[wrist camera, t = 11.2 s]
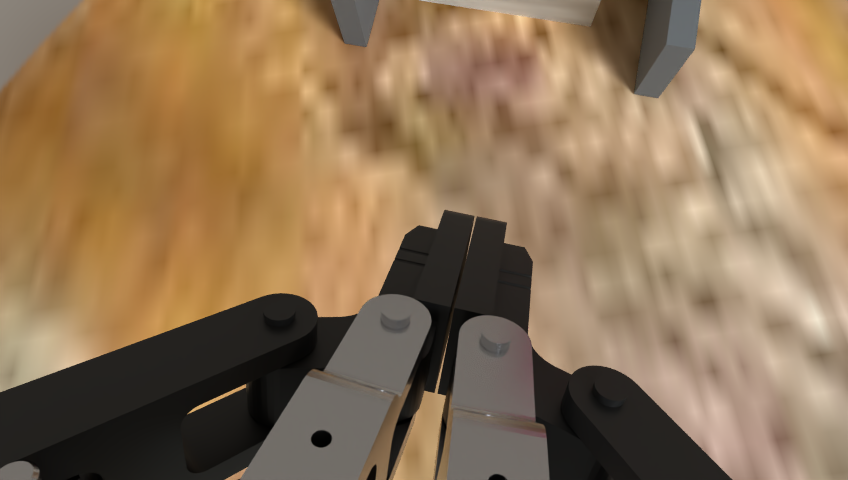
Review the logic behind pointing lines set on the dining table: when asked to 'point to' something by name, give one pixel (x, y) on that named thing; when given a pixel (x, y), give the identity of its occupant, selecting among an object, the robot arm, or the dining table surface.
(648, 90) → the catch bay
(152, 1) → the dining table surface
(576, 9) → the cream block
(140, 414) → the robot arm
